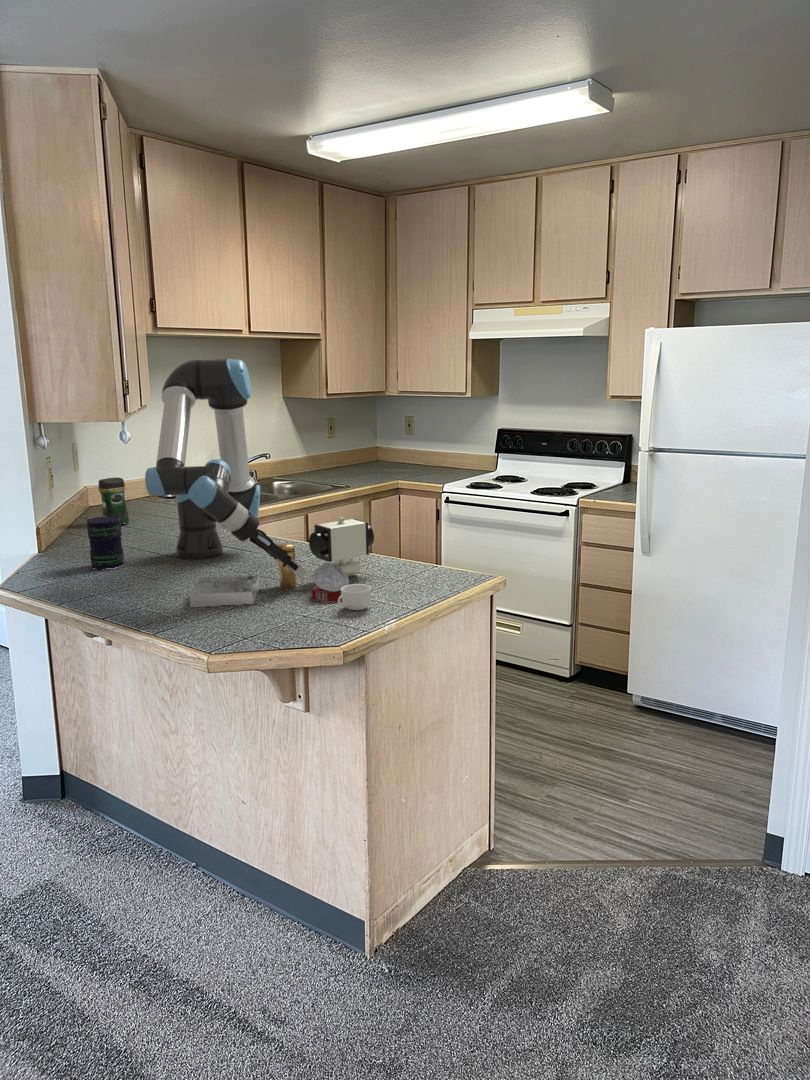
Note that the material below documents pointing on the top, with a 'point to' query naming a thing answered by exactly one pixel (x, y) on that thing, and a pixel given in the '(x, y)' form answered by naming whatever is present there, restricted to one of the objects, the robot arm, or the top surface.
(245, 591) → the jig
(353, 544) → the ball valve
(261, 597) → the top surface
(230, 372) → the robot arm
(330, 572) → the canned food
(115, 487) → the coffee jar
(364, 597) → the teacup
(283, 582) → the gold metal cylinder
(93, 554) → the storage jar
